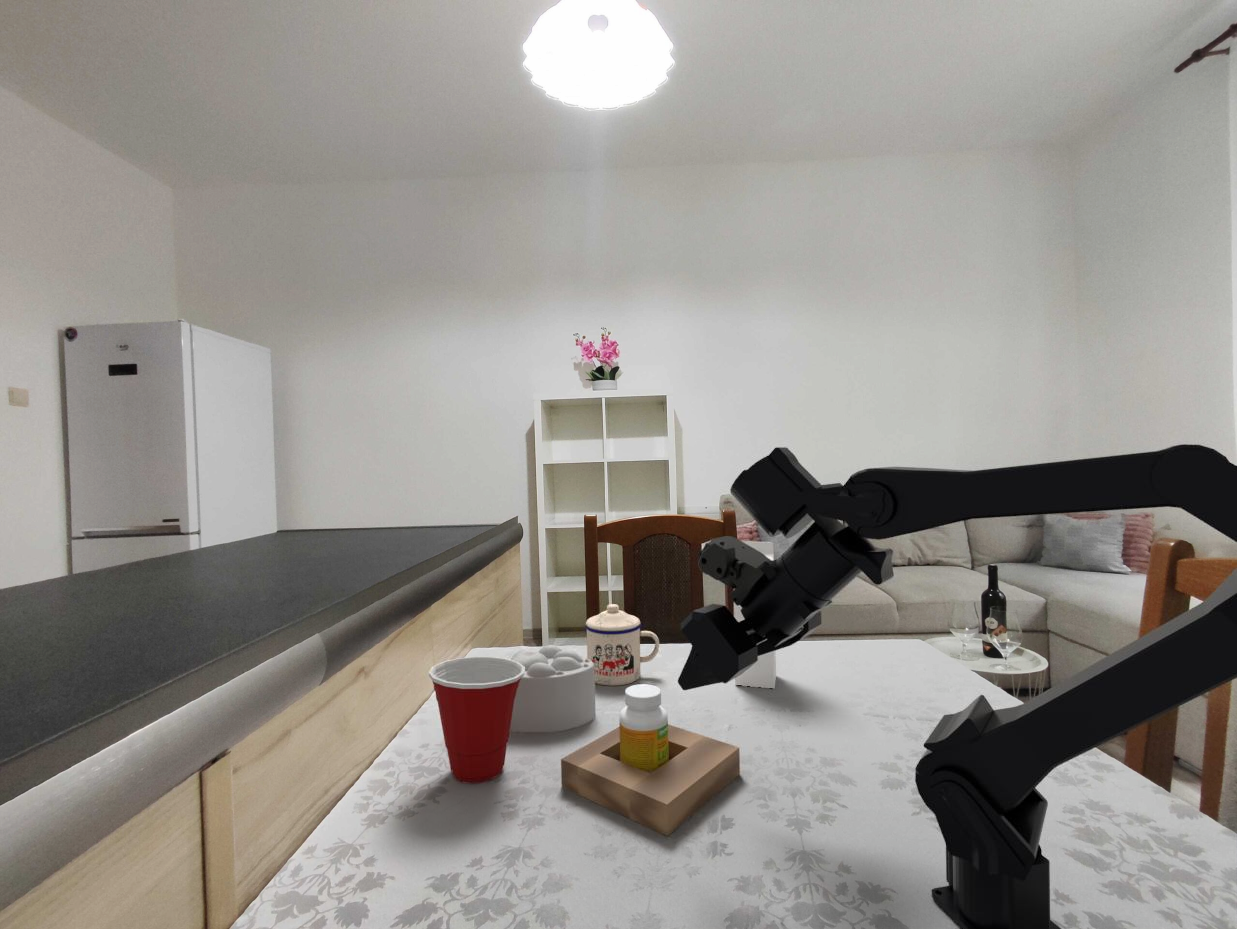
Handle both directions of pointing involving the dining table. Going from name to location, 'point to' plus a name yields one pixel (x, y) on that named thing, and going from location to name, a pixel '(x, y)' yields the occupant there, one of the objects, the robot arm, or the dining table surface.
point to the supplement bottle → (644, 729)
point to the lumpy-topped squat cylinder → (553, 691)
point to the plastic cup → (476, 713)
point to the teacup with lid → (616, 646)
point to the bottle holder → (653, 778)
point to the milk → (766, 665)
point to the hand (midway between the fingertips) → (706, 672)
